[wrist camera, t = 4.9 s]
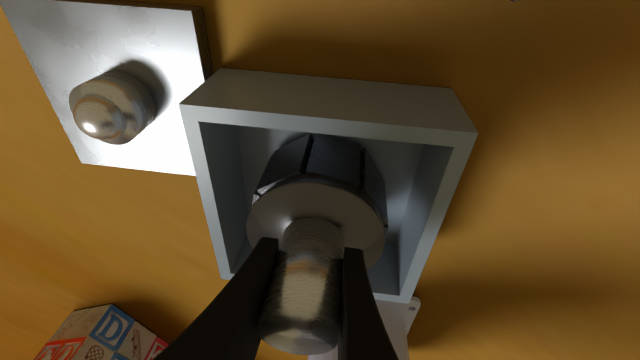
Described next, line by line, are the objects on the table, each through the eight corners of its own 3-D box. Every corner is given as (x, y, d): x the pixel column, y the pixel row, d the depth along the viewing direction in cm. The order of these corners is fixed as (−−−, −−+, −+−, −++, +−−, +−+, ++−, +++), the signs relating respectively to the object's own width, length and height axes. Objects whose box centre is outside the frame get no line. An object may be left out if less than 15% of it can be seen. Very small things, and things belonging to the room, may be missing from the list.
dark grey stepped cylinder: (399, 154, 14) (424, 311, 8) (360, 236, 18) (357, 388, 12) (276, 121, 14) (207, 258, 8) (262, 211, 17) (206, 353, 11)
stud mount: (228, 168, 17) (201, 211, 14) (94, 153, 18) (42, 192, 15) (202, 6, 12) (153, 24, 10) (18, -8, 13) (-80, 6, 10)
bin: (401, 245, 19) (408, 304, 16) (244, 226, 20) (221, 278, 17) (451, 88, 13) (478, 133, 10) (220, 67, 14) (178, 104, 11)
